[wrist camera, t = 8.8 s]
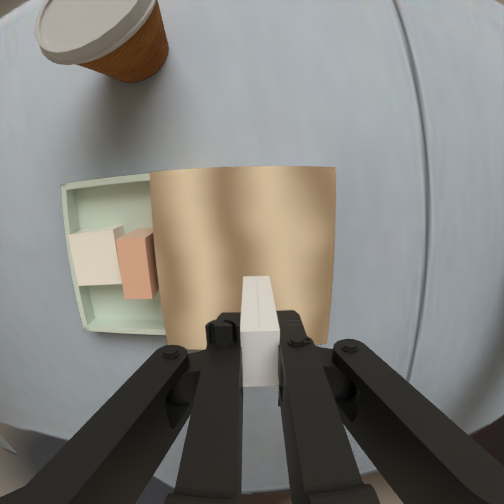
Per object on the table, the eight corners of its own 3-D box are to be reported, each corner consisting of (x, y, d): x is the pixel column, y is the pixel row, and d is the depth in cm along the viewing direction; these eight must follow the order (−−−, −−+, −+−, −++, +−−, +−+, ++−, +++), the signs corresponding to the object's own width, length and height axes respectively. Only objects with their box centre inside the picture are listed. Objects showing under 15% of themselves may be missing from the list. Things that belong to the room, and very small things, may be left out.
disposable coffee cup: (176, 97, 24) (132, 48, 12) (88, 100, 24) (14, 70, 12) (193, 15, 22) (170, -58, 10) (108, 22, 21) (55, -32, 10)
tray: (162, 172, 26) (155, 172, 23) (175, 323, 30) (170, 335, 27) (73, 183, 26) (61, 184, 23) (93, 320, 29) (84, 330, 27)
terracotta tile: (144, 238, 22) (115, 239, 22) (152, 299, 23) (124, 298, 23) (161, 226, 27) (136, 228, 26) (166, 278, 28) (142, 279, 28)
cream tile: (68, 234, 24) (80, 230, 26) (78, 285, 25) (89, 277, 28) (112, 229, 24) (123, 224, 26) (122, 283, 25) (131, 275, 28)
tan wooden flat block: (319, 168, 26) (335, 167, 21) (314, 319, 30) (326, 343, 25) (165, 172, 26) (149, 172, 21) (178, 323, 30) (168, 348, 25)
